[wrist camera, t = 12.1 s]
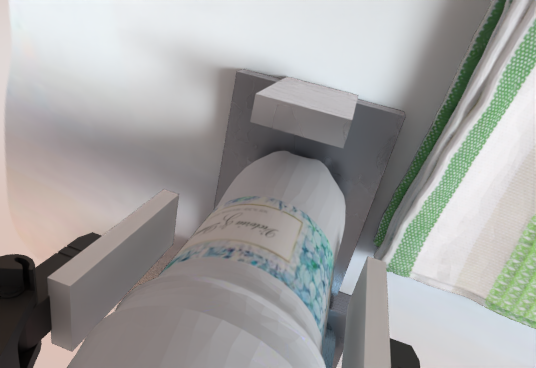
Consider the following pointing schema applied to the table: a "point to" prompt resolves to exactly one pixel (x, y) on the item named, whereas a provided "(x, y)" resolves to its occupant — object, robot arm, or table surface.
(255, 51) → the table surface
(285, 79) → the motor mount
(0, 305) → the robot arm
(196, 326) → the bottle
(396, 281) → the table surface
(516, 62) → the dish towel
